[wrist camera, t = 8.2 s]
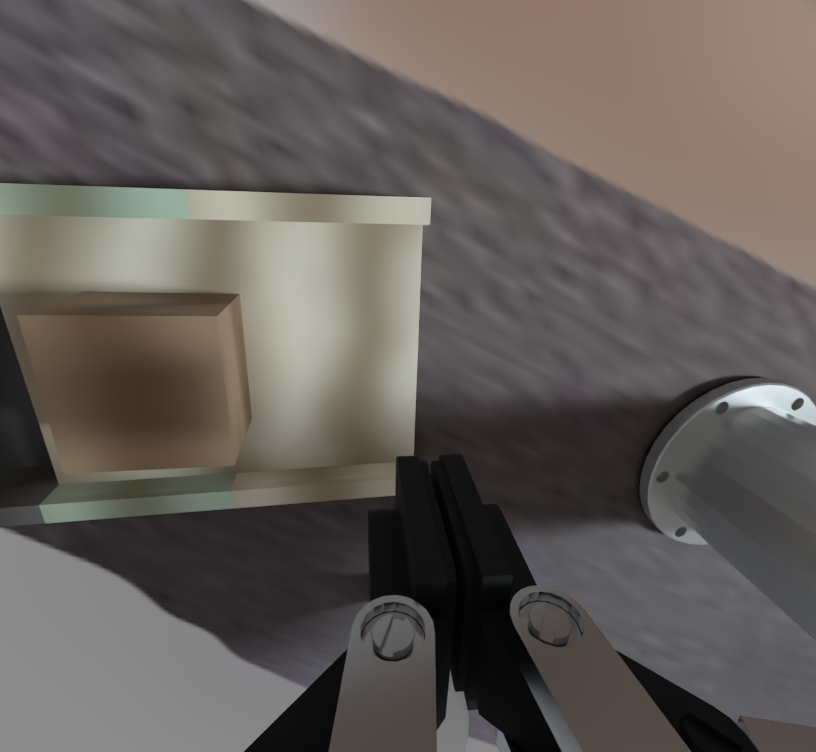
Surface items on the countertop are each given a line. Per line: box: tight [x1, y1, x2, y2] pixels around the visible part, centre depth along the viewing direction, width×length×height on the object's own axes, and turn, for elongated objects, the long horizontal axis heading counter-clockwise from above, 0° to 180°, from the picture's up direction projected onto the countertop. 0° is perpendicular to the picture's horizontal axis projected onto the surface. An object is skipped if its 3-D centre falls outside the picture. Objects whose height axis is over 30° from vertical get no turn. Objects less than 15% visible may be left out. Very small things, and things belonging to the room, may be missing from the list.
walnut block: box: [17, 292, 252, 474], centre depth 17 cm, size 6×6×4 cm
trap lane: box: [0, 183, 431, 527], centre depth 19 cm, size 23×14×4 cm, turn 88°
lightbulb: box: [437, 671, 469, 752], centre depth 24 cm, size 6×6×11 cm
